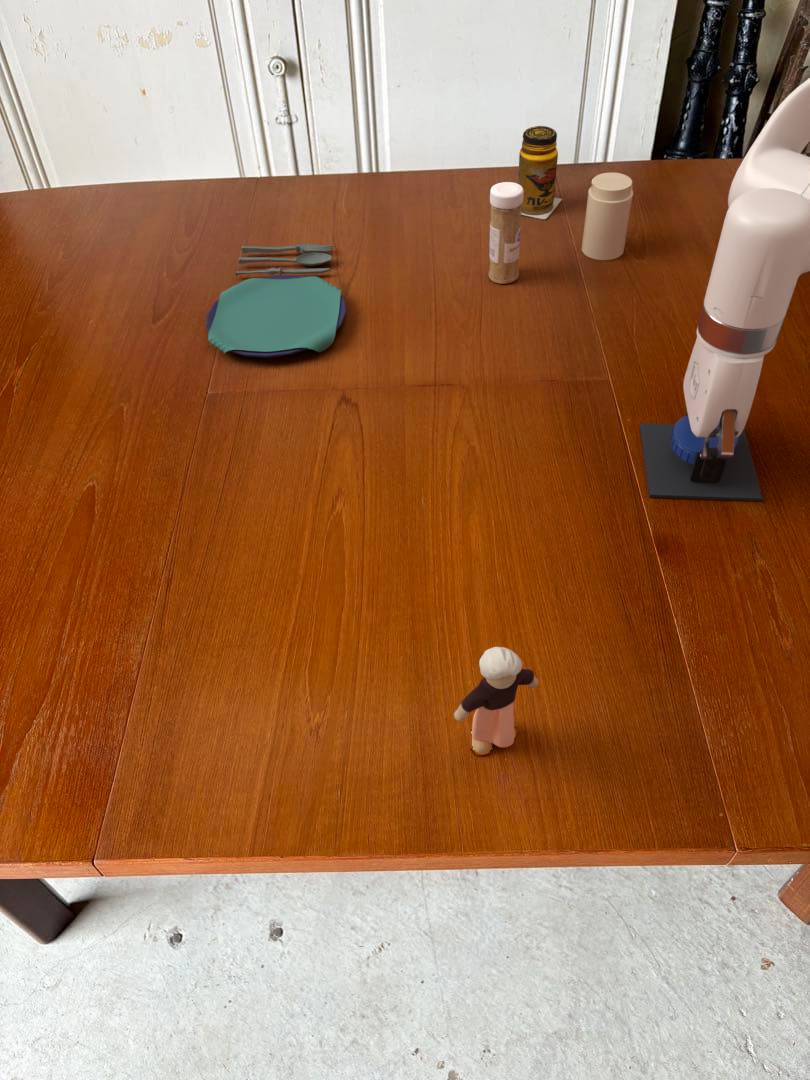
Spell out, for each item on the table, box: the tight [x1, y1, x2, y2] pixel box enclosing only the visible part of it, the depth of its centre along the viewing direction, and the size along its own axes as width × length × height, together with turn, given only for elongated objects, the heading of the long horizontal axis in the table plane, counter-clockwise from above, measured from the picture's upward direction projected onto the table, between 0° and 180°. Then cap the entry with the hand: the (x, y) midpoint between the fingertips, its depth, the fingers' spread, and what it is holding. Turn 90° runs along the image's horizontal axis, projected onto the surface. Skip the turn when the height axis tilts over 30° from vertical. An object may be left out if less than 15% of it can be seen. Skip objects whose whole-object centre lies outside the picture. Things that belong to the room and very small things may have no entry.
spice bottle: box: [488, 181, 523, 285], centre depth 116 cm, size 5×5×14 cm
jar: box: [581, 172, 634, 261], centre depth 121 cm, size 6×6×11 cm
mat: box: [639, 422, 764, 502], centre depth 93 cm, size 12×12×1 cm
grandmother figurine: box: [453, 646, 539, 753], centre depth 67 cm, size 8×4×13 cm, turn 126°
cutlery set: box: [205, 242, 347, 359], centre depth 118 cm, size 20×30×2 cm, turn 179°
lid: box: [670, 414, 739, 464], centre depth 91 cm, size 7×7×2 cm
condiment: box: [517, 125, 563, 220], centre depth 131 cm, size 7×8×12 cm
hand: (699, 456), depth 93 cm, fingers closed on lid, 6 cm apart
